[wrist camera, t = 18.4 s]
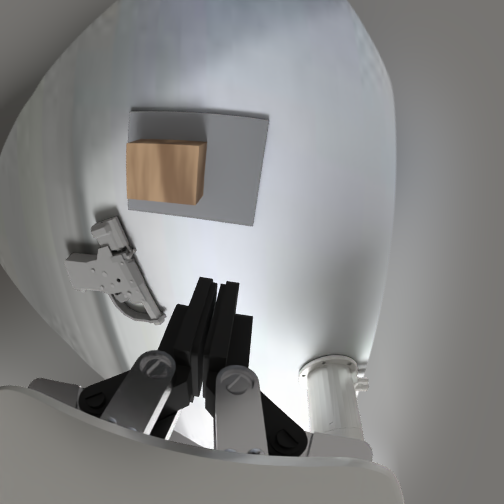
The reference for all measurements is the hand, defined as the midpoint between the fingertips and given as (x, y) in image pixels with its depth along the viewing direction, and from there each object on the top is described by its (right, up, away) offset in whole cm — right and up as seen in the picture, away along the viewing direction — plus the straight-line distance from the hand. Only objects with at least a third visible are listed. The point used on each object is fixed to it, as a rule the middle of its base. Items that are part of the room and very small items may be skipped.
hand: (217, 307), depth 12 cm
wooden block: (-4, +12, +20) cm, 23 cm away
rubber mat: (-6, +13, +22) cm, 26 cm away
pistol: (-23, -2, +32) cm, 40 cm away
